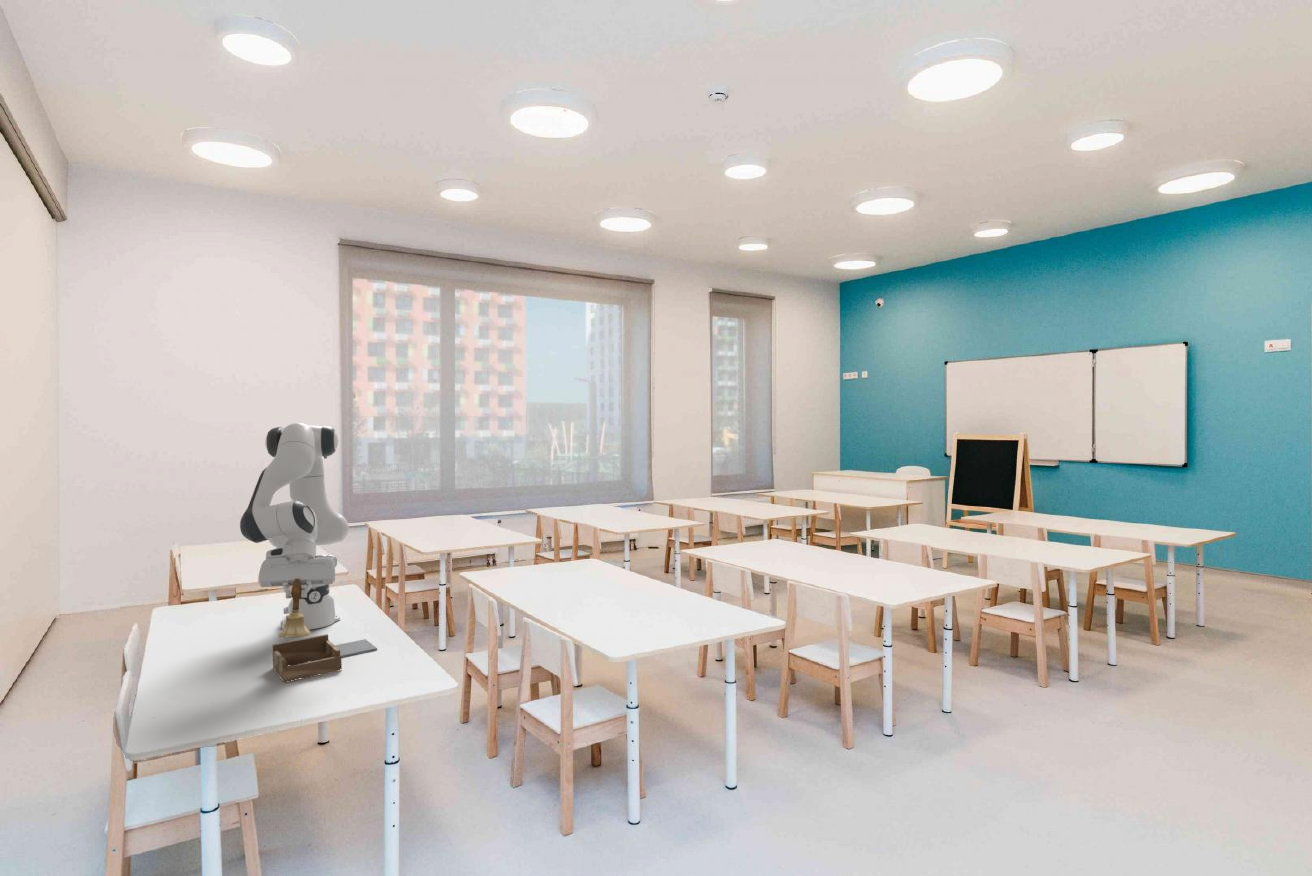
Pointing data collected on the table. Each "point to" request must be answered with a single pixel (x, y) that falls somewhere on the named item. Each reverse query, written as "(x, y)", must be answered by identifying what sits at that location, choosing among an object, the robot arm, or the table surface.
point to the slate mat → (355, 647)
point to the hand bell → (295, 616)
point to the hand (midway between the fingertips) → (296, 597)
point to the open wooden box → (306, 657)
